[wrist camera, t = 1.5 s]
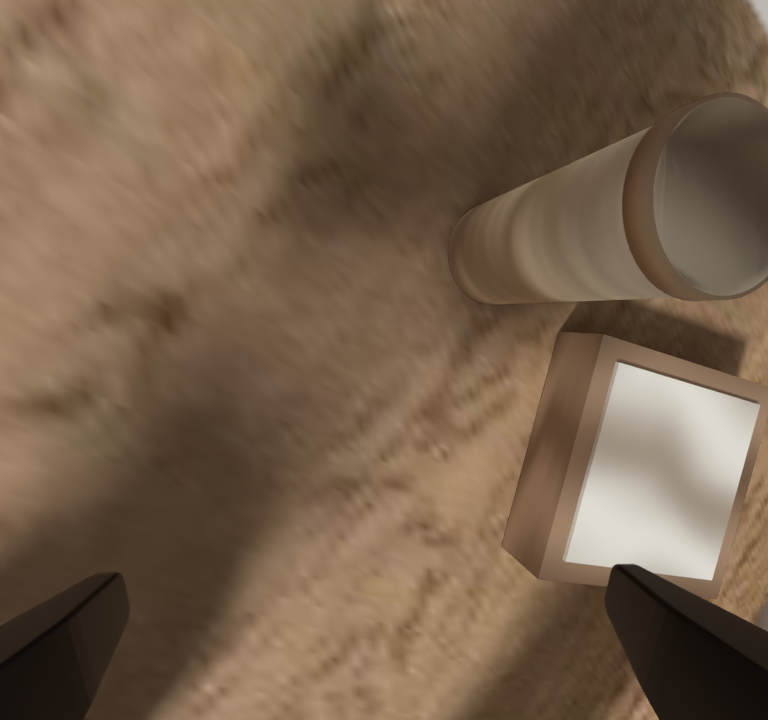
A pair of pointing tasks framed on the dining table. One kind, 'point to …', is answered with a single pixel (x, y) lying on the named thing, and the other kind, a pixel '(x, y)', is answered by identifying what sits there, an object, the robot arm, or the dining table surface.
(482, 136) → the dining table surface
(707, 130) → the lidded cylindrical jar
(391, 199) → the dining table surface
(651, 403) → the base
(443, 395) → the dining table surface
